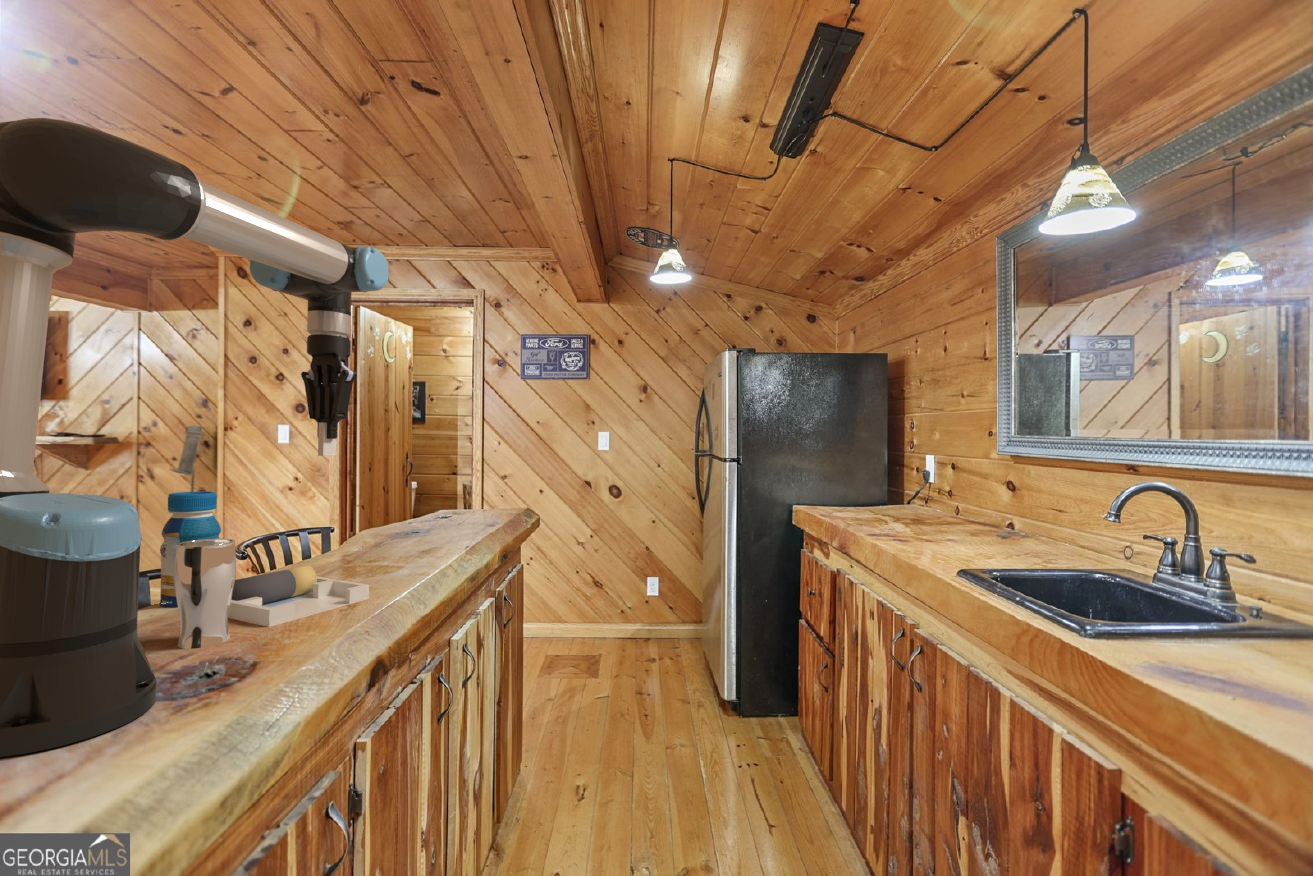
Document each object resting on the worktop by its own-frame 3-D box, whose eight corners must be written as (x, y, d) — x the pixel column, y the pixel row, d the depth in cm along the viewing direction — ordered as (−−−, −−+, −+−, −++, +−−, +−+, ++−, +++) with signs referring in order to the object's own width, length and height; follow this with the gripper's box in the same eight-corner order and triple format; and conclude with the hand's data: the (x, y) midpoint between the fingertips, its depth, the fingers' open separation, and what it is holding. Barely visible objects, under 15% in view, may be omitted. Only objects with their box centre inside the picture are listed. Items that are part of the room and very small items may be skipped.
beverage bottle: (205, 612, 99) (208, 494, 99) (147, 615, 97) (149, 495, 97) (229, 599, 107) (231, 490, 107) (176, 601, 105) (178, 490, 105)
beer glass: (246, 641, 86) (248, 539, 86) (205, 658, 79) (207, 547, 79) (203, 638, 86) (205, 537, 86) (158, 655, 79) (161, 545, 79)
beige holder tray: (269, 633, 89) (269, 610, 89) (199, 617, 96) (200, 596, 96) (368, 604, 106) (369, 584, 106) (303, 592, 113) (304, 574, 113)
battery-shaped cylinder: (242, 613, 96) (243, 582, 96) (223, 608, 98) (224, 578, 98) (316, 594, 107) (317, 567, 107) (298, 590, 109) (299, 564, 109)
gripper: (369, 337, 116) (366, 456, 116) (324, 341, 121) (321, 454, 121) (335, 330, 109) (332, 456, 109) (288, 334, 114) (286, 455, 114)
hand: (326, 455), depth 115 cm, fingers closed
